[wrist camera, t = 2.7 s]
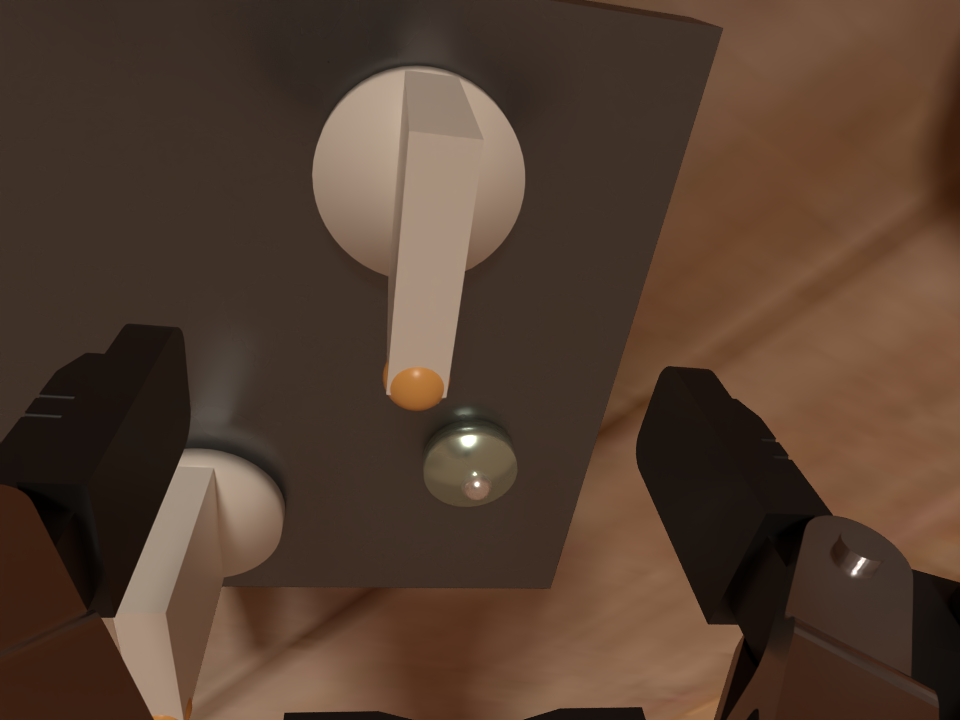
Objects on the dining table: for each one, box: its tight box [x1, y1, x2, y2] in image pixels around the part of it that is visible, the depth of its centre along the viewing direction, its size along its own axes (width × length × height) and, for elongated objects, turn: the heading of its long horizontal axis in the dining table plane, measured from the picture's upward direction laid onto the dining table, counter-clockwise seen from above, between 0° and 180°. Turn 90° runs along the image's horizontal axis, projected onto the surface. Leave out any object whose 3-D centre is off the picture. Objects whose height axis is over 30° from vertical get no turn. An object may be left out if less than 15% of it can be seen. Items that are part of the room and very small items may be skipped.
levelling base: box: [0, 0, 723, 589], centre depth 24 cm, size 24×22×4 cm
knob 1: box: [113, 448, 285, 720], centre depth 23 cm, size 7×6×7 cm
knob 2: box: [312, 66, 525, 411], centre depth 17 cm, size 7×6×7 cm
